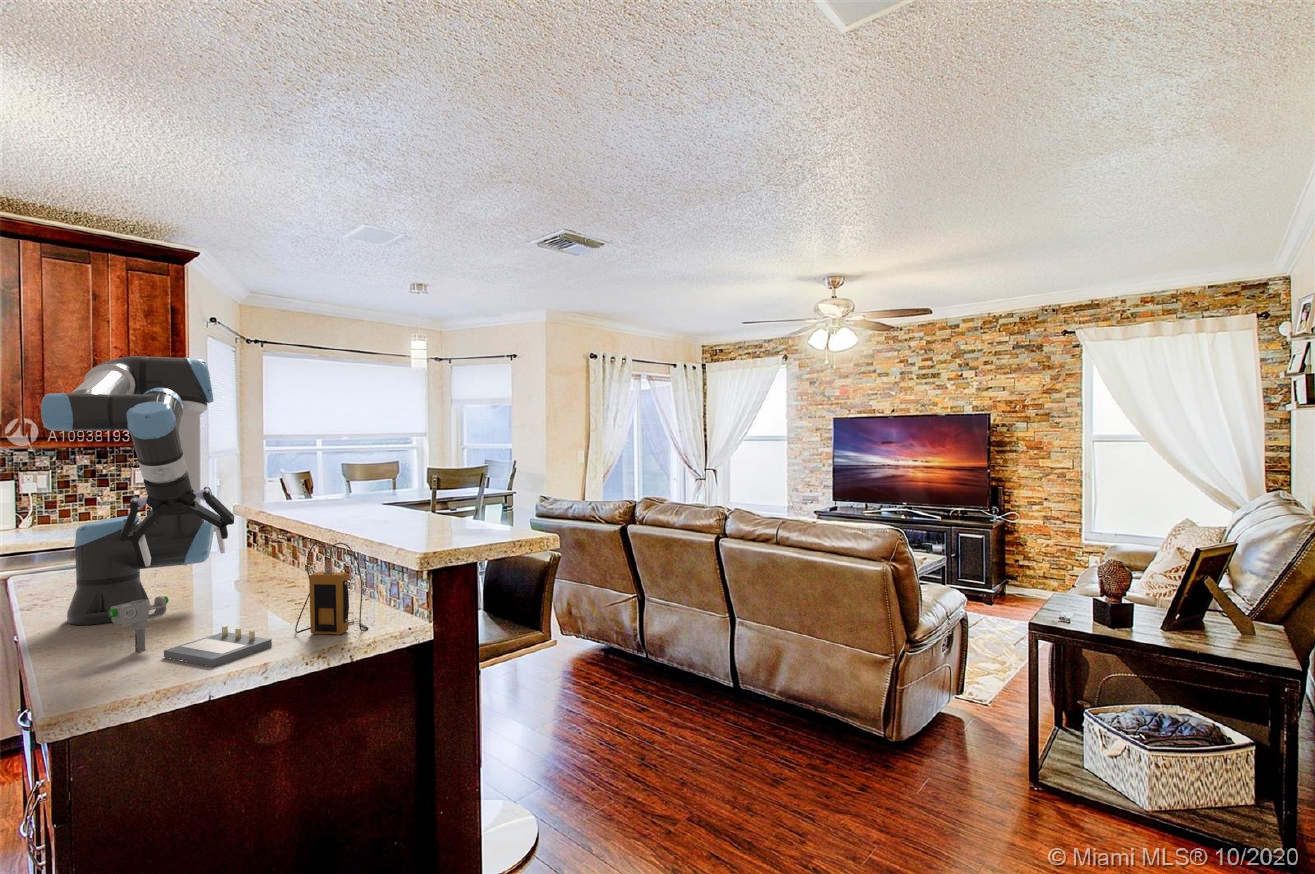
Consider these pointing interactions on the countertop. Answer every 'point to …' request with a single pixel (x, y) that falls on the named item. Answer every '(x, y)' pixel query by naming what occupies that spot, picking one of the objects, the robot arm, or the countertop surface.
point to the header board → (219, 648)
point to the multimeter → (329, 600)
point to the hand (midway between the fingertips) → (186, 556)
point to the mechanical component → (138, 616)
